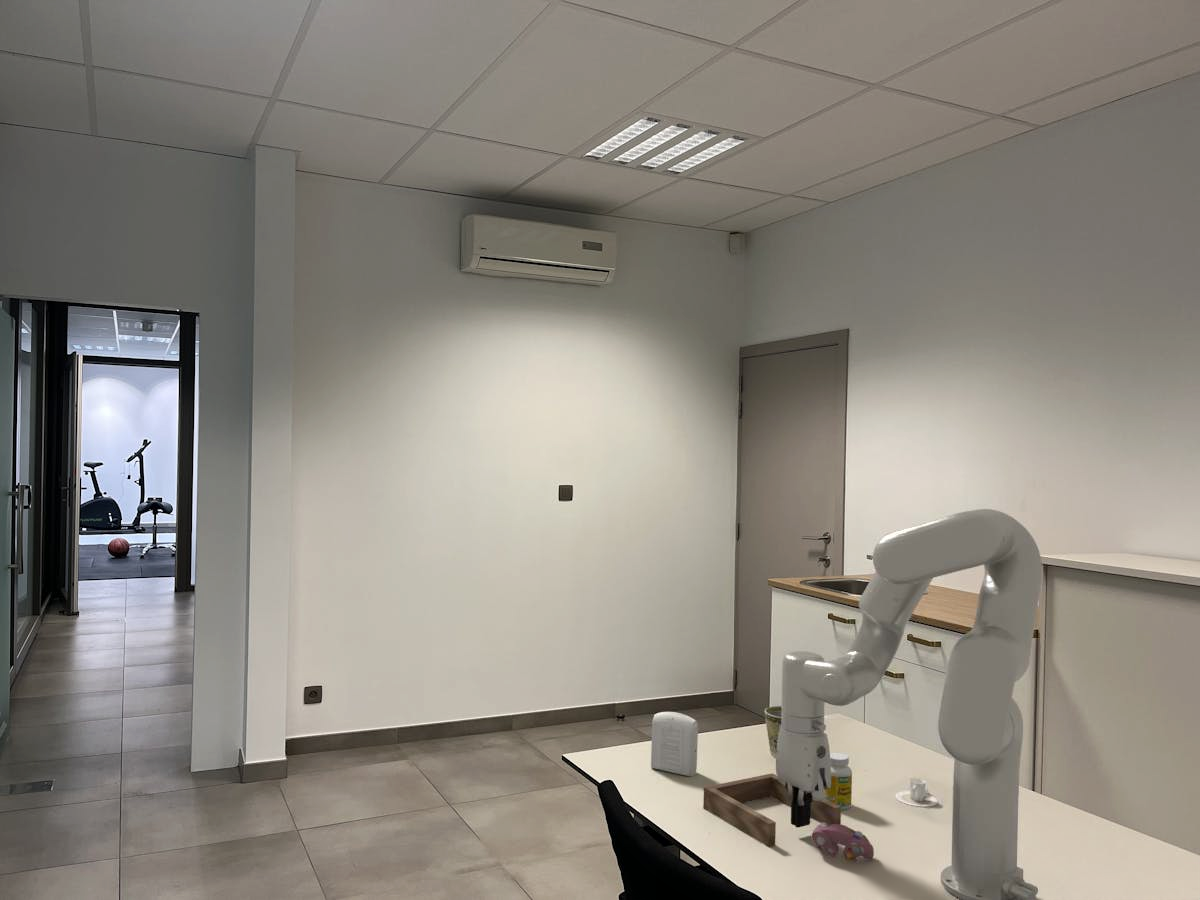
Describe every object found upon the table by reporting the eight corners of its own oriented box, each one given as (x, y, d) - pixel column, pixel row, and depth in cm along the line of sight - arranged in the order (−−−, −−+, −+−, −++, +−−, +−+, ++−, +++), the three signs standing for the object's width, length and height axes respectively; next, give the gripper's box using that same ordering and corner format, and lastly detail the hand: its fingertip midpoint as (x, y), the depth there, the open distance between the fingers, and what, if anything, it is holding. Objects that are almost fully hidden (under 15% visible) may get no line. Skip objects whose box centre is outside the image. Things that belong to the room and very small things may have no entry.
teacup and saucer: (913, 790, 185) (913, 770, 185) (948, 802, 179) (948, 782, 179) (887, 799, 180) (887, 778, 180) (922, 812, 174) (922, 791, 174)
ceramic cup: (755, 750, 207) (756, 707, 207) (794, 747, 210) (795, 704, 210) (783, 770, 194) (784, 723, 194) (824, 766, 197) (825, 720, 197)
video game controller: (812, 859, 155) (806, 829, 152) (820, 839, 158) (815, 809, 156) (869, 875, 150) (865, 844, 147) (876, 854, 153) (872, 823, 150)
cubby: (840, 828, 164) (841, 806, 164) (768, 846, 156) (769, 823, 156) (771, 793, 181) (772, 773, 181) (703, 808, 172) (703, 787, 172)
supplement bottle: (836, 797, 179) (837, 749, 179) (857, 807, 175) (858, 757, 175) (817, 803, 176) (818, 754, 176) (838, 812, 172) (839, 762, 172)
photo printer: (699, 772, 192) (701, 714, 192) (691, 778, 188) (693, 719, 188) (656, 763, 197) (657, 706, 197) (647, 769, 193) (649, 711, 193)
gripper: (848, 731, 157) (846, 836, 157) (790, 709, 170) (788, 806, 170) (816, 737, 153) (814, 845, 153) (759, 714, 166) (757, 813, 166)
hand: (800, 824), depth 161 cm, fingers closed
